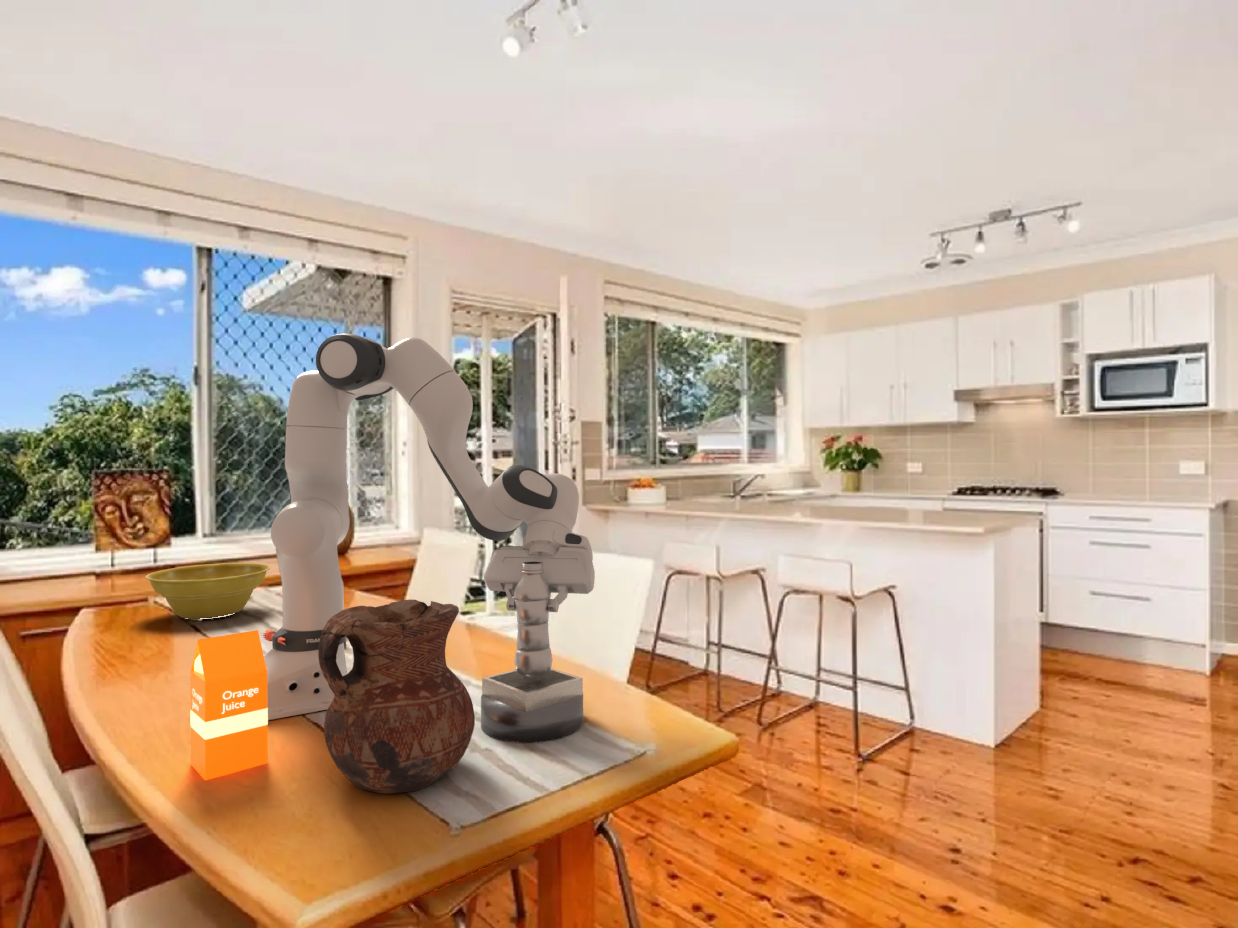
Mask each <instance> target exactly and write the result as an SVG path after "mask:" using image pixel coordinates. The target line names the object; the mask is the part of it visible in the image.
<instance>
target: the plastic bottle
mask: <svg viewBox="0 0 1238 928" xmlns="http://www.w3.org/2000/svg"><path fill="white" fill-rule="evenodd" d="M521 573H522V574H523V577H522V578H521V580H520V581H519V582H518V584H517V586H516V587H515V591H514V596H513V598H515V606H516V611H515V612H516V620H517V638H516V639H517V641H516V649H515V653H514V666H515V670H517V671H518V673H519V674H521V675H524V676H540V675H545V674H547V673H548V672H549V671H550V669H551V668H552V666H553V657H552V656H553V655H552V649H551V647H550V645H551V644H550V634H549V618H550V617H549V613H550V612H549V610H548V604H549V599H551V597H552V593H551V590H550V587H549V585H548V584H547V582H546V581H545V579H544V578H543V577H542V573H544V570H543V562H540V561H528V562H523V563H522V571H521Z"/></svg>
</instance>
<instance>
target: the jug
mask: <svg viewBox="0 0 1238 928" xmlns="http://www.w3.org/2000/svg"><path fill="white" fill-rule="evenodd" d="M459 609H460V608H459V607H458V605H455V604H452V603H445V604H443V603H440V602H437V601H433V600H431V601H430V605H427V603H426V602H424V601H419V600H417V599H401V600H397V601H393V602H390V603H389V604H383V605H379V606H371V605H370V606H369V605H368V606H366V605H356V606H351V607H348V608H345V609H344V610H342V611H340V612H339V613H338V614H336V615H334V616H332V617H331V618H330V619H329V620H328V621H327V623H326V625H325V627H324V629H323V631H322V633H321V634H322V635H321V638H320V642H319V652H318V657H319V664H320V668H321V671H322V674H323V676H324V677H325V679H326V681H327V682H328V685H329V687H330V689H331V690H332V692H333V693H334V699H333V700H332V702H331V704H330V706H329V708H328V709H327V710H326V714H325V718H324V725H323V728H324V729H323V735H324V739H325V744H326V749H327V751H328V753H329V755H330V758H331V759H332V761H333V762H334V764H335V765H336V766H335V767H337V769H338V770H339V771H340V772H341V773H342V774H343V775H344V776H345V778H347V779H348V780H349V781H350V782H351V783H352V785H354V786H355V787H357V788H359V789H361V790H365V791H367V792H372V793H379V794H401V793H402V794H403V793H408V792H414V791H417V790H421V789H423V788H426V787H428V786H430V785H432V784H433V783H435V782H436V781H439V779H441V778H443V777H444V776H445V775H447V774H448V773H449V772H450V771H451V770H453V768H455V767H456V766H457V765H458V763H459V762H460V761H461V759H462V758H463V757H464V755H465V753H466V751H467V749H468V748H469V744H470V742H471V740H472V736H473V733H474V729H475V725H476V724H475V718H476V717H475V709H474V704H473V701H472V698H471V696H470V694H469V691H468V690H467V689H468V688H466V686H465V684H464V683H463V682H462V680H461V679H460V678H459V677H458V676H457V675H456V674H455V673H454V672H453V671H452V670H451V669H450V667H448V666H447V660H446V646H447V640H448V635H449V633H450V630H451V628H452V626H453V624H454V622H455V620H456V618H457V617H458V615H459V612H460V610H459ZM345 636H346V639H347V640H348V642H349V644H350V646H351V647H352V653H353V655H352V656H353V657H352V658H353V663H352V668H351V670H350V671H348V674H346V675H344V676H342V674H341V672H340V670H339V668H338V665H337V663H336V654H337V651H338V647H339V643H340V640H341V638H342V637H345Z"/></svg>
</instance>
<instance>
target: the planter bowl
mask: <svg viewBox="0 0 1238 928" xmlns="http://www.w3.org/2000/svg"><path fill="white" fill-rule="evenodd" d="M269 570H271V566H270V565H267V564H263V563H254V562H253V563H251V562H249V563H248V562H231V563H230V562H226V563H225V562H224V563H212V564H211V563H209V564H199V565H198V564H197V565H189V566H187V565H186V566H180V567H174V568H168V569H167V568H166V569H162V570H158V571H157V570H156V571H154V572H150V573H148V574H147V575H145V576H144V578H145V579H146V580H148V581H149V584H150V585H151V587H152V589H153V590H154V592H155V593H156V594H158V595H159V596H161V597H163V598H165V600H166V602H167V603H168V606H169V607H170V609H172V611H173V612H174V613H175V614H176V615H177V616H178V617H180V618H182V617H183V618H188V619H200V618H212V617H218V616H224V615H228V614H233V613H236V612H238V613H239V612H240V611H242V610H243V609H244V608H245V606H246V605H247V604H248V602H249V600H250V599H251V596H252V594H253V591H254V590H255V589H257V587H258V586H260V585H262V583H263V581H264V579H265V577H266V574H267V572H268V571H269ZM183 618H182V619H183Z"/></svg>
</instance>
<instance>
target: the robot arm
mask: <svg viewBox="0 0 1238 928" xmlns="http://www.w3.org/2000/svg"><path fill="white" fill-rule="evenodd" d="M315 367H316V370H309V371H305V372H302V373H300V374H299V375H298V376H296V378H295V379H294V381H293V383H292V388H291V391H290V395H289V400H288V405H287V412H286V425H285V426H286V427H285V452H284V453H285V454H284V469H285V471H286V475H287V480H288V486H289V493H290V504H287V505H286V506H285V507H284V508H282V509H281V510H280V511H279V513H278V514H276V517H275V518H274V519H273V522H272V523H271V529H270V537H271V541H272V544H273V545H274V547H275V553H276V560H277V566H278V569H279V574H280V581H281V587H282V588H281V590H282V627H280V628H279V629H278V630H277V631H275V630H272V629H267V630H265V631H264V632H263V634H262V636H263V639H264V640H266V641H268V642H272V643H271V644H272V649H270V650H269V651H268V652H267V653H266V654H264V660H265V664H266V669H267V708H268V721H271V720H276V719H281V718H287V717H291V716H292V717H294V716H298V715H304V714H310V713H315V712H319V711H327V710H328V708H329V706H330V704H331V702H332V700H333V699H334V693H333V692H332V690H331V689H330V687H329V685H328V682H327V681H326V679H325V677H324V676H323V674H322V671H321V668H320V664H319V657H318V652H319V642H320V638H321V635H322V634H321V633H322V631H323V629H324V627H325V625H326V623H327V621H328V620H329V619H330V618H331V617H332V616H334V615H336V614H338V613H339V612H340V611H342V610H345V609H344V604H345V603H344V600H345V599H344V580H343V578H342V574H341V569H340V563H339V562H340V561H339V554H338V545H340V544H341V543H342V542H343V541H344V539H345V537H347V534H348V532H349V529H350V524H351V523H350V519H351V518H350V507H349V506H350V505H349V493H348V492H349V491H348V481H347V468H346V467H347V447H348V446H347V445H348V442H347V441H348V440H347V438H348V436H347V435H348V415H349V414H348V413H349V408H350V405H351V403H352V402H354V400H356V401H364V400H368V399H372V398H375V397H380V396H382V395H386V394H387V393H389V392H391V391H392V390H393V389H394V390H395V391H397V393H398V394H399V395H400V396H401V397H402V398H403V399H404V401H405V403H407V405H408V406H409V407H410V409H411V410H412V411H413V413H414V415H415V416H416V417H417V419H418V420H419V423H420V424H421V427H422V428H423V431H424V434H425V436H426V440H427V445H428V447H429V450H430V453H431V454H432V456H433V459H434V460H435V461H436V463H437V465H438V466H439V467H438V468H440V470H441V472H442V473H443V474H444V476H445V478H446V479H447V481H448V482H449V484H450V486H451V487H452V489H453V490H454V492H455V495H456V496H457V497H458V499H459V500H460V502H461V504H462V506H463V508H464V510H465V511H464V512H465V513H466V516H467V519H468V522H469V523H470V525H471V527H472V528H473V530H474V531H475V532H476V533H477V534H478V535H479V536H480V537H482V538H484V539H487V540H489V541H496V542H502V541H504V540H507V539H509V538H510V537H511V536H512V535H513V534H514V533H515V532H516V530H517V529H518V528H519V527H520V525H522V523H525V524H526V526H527V529H526V533H525V536H524V539H523V540H524V541H523V545H513V546H508V545H501V546H500V547H498V548H496V549H494V550H493V551H492V552H491V555H490V559H489V563H487V564H488V565H487V567H486V569H485V571H484V575H483V580H484V583H485V585H486V587H487V589H488V590H490V591H491V592H505V594H506V597H507V600H506V605H505V606H506V610H507V611H514V612H516V606H515V598H514V591H515V587H516V586H517V584H518V582H519V581H520V580H521V578H522V577H523V574H522V573H521V571H522V563H523V562H528V561H540V562H543V570H544V573H542V577H543V578H544V579H545V581H546V582H547V584H548V585H549V587H550V590H551V594H553V593H554V594H556V595H555V597H554V598H550V599H549V604H548V610H549V613H558V611H559V607H560V605H562V603H564V601H565V600H566V599H567V598H568V594H579V595H580V594H581V595H588V594H590V593H591V592H592V591H593V590H594V587H595V577H596V576H595V567H594V562H593V560H594V559H593V557H594V556H593V555H594V553H593V549H592V546H591V543H590V540H589V539H588V537H587V536H584V535H581V534H578V533H574V532H573V529H574V528H575V524H576V523H577V518H578V512H579V503H580V496H579V495H580V494H579V489H578V487H577V484H576V483H575V482H574V481H573V480H572V479H571V478H570V477H569V476H567V475H564V474H562V473H550V474H546V473H545V474H544V473H541V472H540V471H537V470H536V469H534V468H532V467H530V466H527V465H525V464H512V465H510V466H508V467H507V468H506V469H504V471H503V472H502V473H501V474H500V475H498V477H496V478H495V480H493V482H492V483H491V484H490V485H489V486H488V484H487V483H486V482H485V480H484V478H483V477H482V475H481V473H480V472H479V470H478V469H477V468H476V466H475V464H474V463H473V461H472V459H471V458H470V456H469V453H468V449H467V434H468V429H469V424H470V421H471V418H472V414H473V405H474V403H473V395H472V394H471V392H470V390H469V387H468V386H467V385H466V383H465V381H464V380H463V379H462V378H461V376H459V374H458V373H457V372H456V371H455V370H454V368H453V367H452V365H450V363H449V362H448V361H447V360H446V358H444V357H443V356H442V355H441V354H440V353H439V352H438V351H437V350H436V349H434V348H433V347H432V346H431V345H430V344H429V343H428V342H427V341H425V340H423V339H421V338H420V337H407V338H404V339H402V340H400V341H399V340H398V342H396V343H395V344H394V345H392V346H390V347H387V346H385V345H383V344H381V343H379V342H377V341H376V340H373V339H371V338H368V337H363V336H360V335H358V334H353V333H337V334H334V335H331V336H329V337H327V338H326V339H325V340H323V342H322V343H321V344H320V345H319V347H318V348H317V351H316V354H315ZM346 648H347V637H346V636H345V637H342V638H341V640H340V643H339V647H338V651H337V654H336V663H337V665H338V668H339V670H340V672H341V674H342V676H344V675H346V674H348V673H349V671H348V669H347V663H346V662H347V661H346V652H345V651H346Z"/></svg>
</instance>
